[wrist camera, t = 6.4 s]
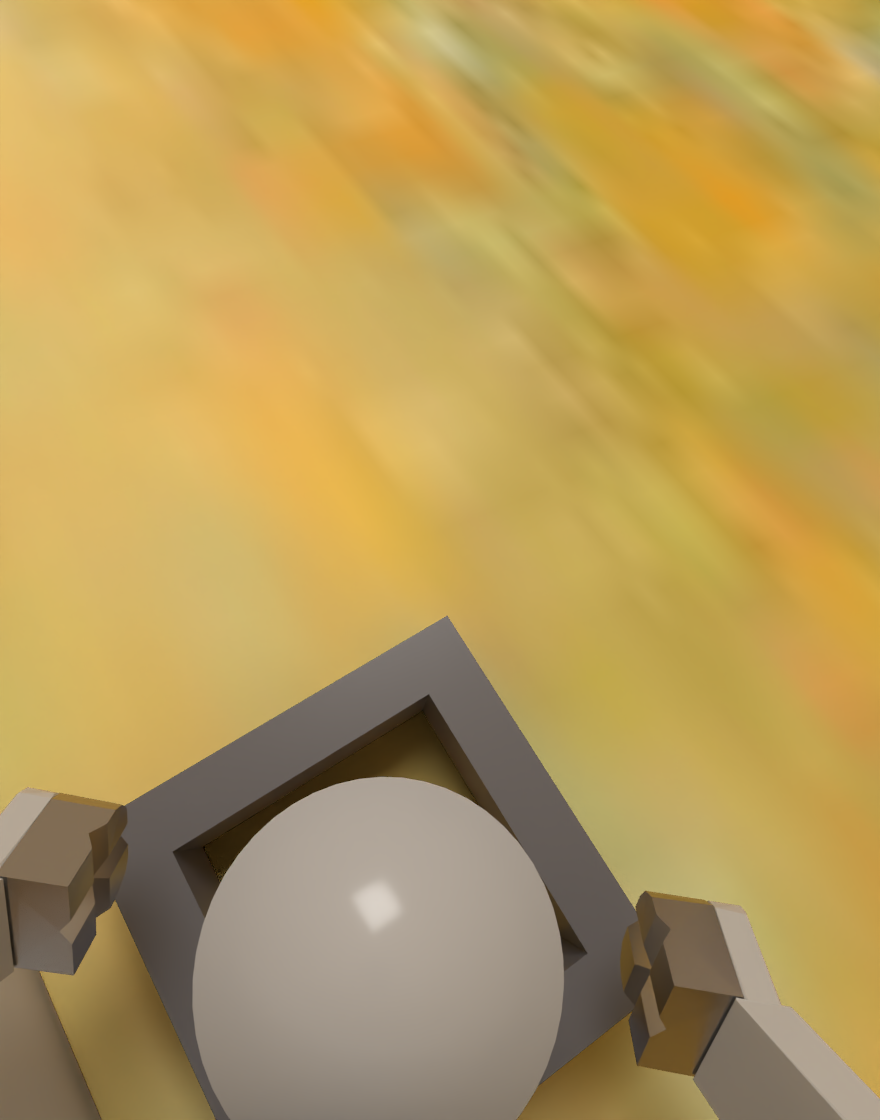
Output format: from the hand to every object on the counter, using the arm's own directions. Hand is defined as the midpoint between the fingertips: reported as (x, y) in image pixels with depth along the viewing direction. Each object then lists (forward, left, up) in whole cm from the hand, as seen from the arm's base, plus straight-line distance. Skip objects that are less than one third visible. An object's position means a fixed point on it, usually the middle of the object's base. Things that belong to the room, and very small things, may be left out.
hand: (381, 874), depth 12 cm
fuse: (0, -1, -5) cm, 5 cm away
